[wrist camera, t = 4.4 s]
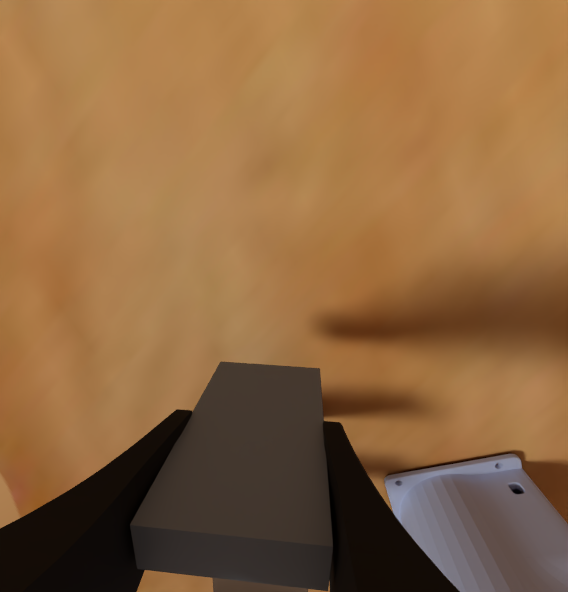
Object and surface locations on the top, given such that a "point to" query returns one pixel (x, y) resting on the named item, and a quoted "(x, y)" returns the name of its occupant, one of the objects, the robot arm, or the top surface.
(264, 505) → the domino
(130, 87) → the top surface
